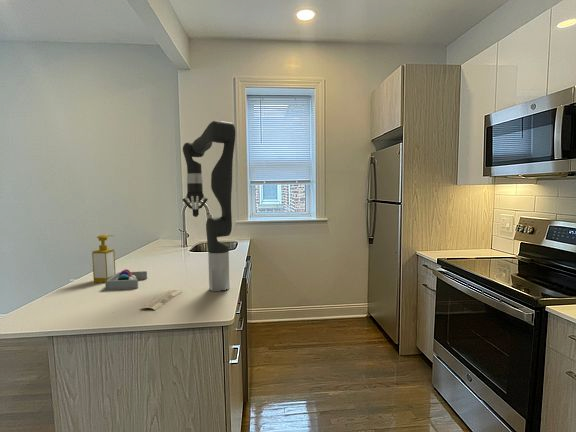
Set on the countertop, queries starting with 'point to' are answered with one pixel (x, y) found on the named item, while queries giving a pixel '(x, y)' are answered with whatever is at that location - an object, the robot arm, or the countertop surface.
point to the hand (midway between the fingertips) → (195, 216)
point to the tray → (125, 281)
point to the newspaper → (162, 299)
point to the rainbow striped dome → (126, 275)
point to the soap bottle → (103, 261)
